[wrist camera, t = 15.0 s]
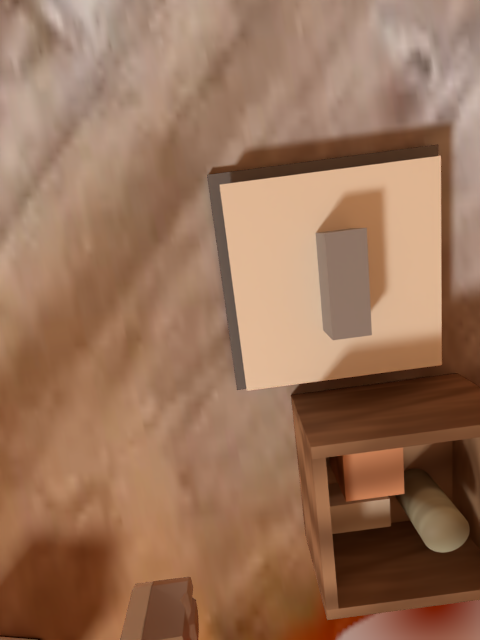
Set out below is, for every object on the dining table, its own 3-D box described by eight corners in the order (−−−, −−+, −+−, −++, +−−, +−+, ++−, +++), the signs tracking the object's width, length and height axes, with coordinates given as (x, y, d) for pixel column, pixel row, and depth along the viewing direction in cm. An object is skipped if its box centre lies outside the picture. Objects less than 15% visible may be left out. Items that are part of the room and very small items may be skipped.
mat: (207, 175, 32) (207, 174, 31) (434, 146, 32) (438, 144, 31) (237, 387, 36) (237, 390, 35) (436, 361, 36) (439, 363, 36)
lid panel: (219, 188, 31) (218, 179, 26) (425, 161, 31) (464, 147, 26) (245, 380, 35) (248, 406, 30) (427, 356, 35) (462, 378, 30)
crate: (290, 395, 36) (311, 447, 28) (456, 372, 36) (529, 418, 28) (305, 534, 40) (327, 619, 31) (456, 514, 40) (520, 594, 31)
